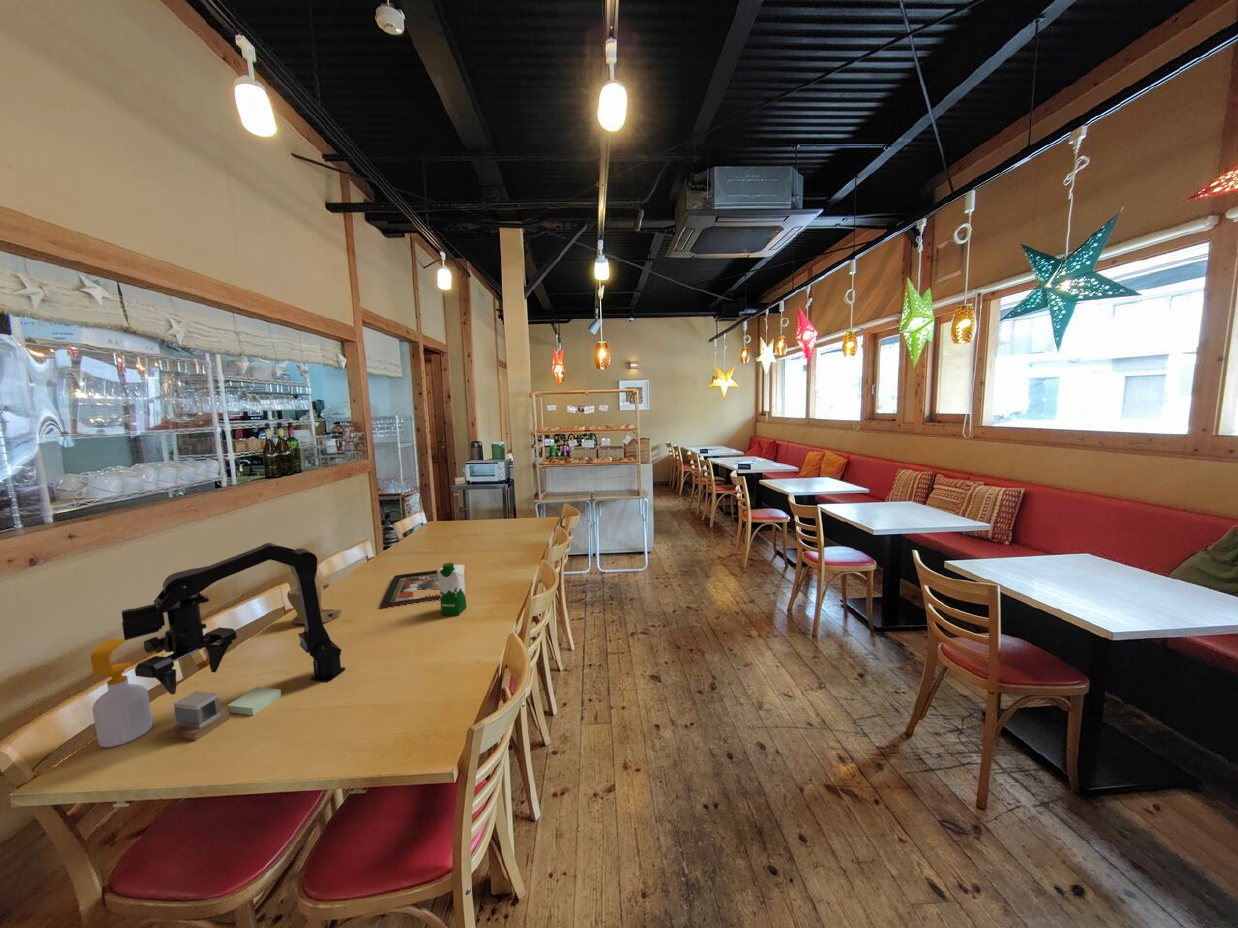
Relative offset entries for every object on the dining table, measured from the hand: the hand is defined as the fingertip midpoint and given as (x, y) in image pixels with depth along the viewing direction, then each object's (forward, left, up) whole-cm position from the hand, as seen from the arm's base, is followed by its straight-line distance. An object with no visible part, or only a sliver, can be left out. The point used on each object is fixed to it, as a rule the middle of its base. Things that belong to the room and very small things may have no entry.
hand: (194, 682), depth 112 cm
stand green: (-5, -10, -12) cm, 16 cm away
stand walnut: (0, 0, -12) cm, 12 cm away
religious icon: (-3, -91, -13) cm, 92 cm away
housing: (0, 0, -10) cm, 10 cm away
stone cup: (+21, -55, -12) cm, 60 cm away
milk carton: (-29, -70, -12) cm, 77 cm away
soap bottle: (+16, +5, -12) cm, 21 cm away
